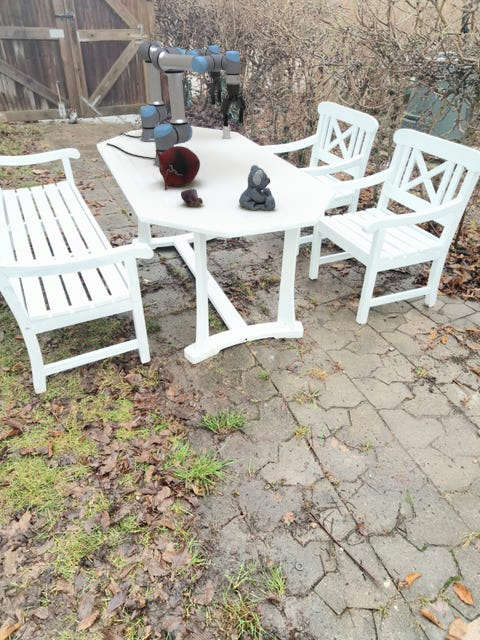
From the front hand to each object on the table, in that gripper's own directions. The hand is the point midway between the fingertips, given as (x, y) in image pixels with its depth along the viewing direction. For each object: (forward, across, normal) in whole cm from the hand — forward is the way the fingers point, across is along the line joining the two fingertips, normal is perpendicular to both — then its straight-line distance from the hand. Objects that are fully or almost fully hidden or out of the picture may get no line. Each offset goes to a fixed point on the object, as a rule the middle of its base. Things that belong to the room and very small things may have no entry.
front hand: (233, 124), depth 261 cm
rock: (+28, -56, -19) cm, 65 cm away
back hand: (+2, +57, +66) cm, 87 cm away
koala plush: (+28, -36, -46) cm, 65 cm away
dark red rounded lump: (+28, -35, +11) cm, 46 cm away
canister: (+28, +67, +65) cm, 98 cm away
